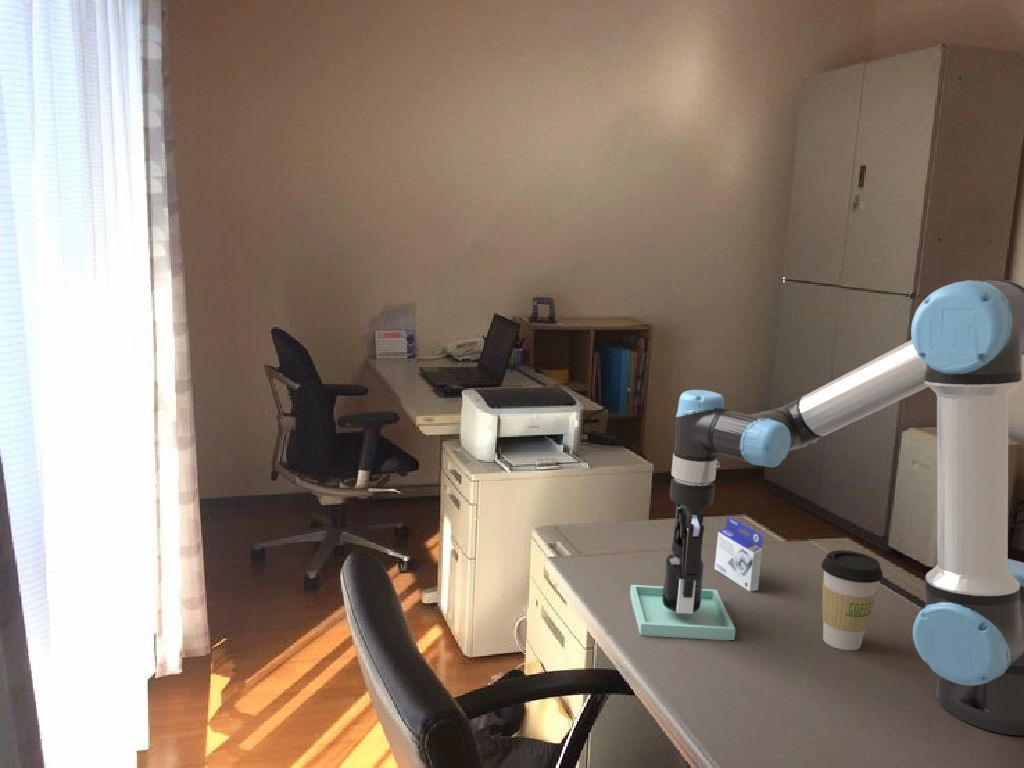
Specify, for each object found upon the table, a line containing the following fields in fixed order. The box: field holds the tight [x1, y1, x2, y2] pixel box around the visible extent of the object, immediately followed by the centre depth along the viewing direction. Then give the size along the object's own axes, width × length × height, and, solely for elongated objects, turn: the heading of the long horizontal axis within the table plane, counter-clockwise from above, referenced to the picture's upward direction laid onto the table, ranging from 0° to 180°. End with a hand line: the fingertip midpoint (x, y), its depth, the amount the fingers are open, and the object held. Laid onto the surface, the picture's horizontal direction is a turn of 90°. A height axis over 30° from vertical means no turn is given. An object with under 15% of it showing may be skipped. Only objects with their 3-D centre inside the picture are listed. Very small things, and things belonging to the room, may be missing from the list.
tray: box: [629, 584, 736, 641], centre depth 163 cm, size 16×16×2 cm
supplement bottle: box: [662, 538, 705, 612], centre depth 161 cm, size 7×7×12 cm
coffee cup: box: [820, 549, 884, 651], centre depth 155 cm, size 10×10×15 cm
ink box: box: [713, 515, 765, 593], centre depth 179 cm, size 12×2×12 cm, turn 25°
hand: (681, 602), depth 162 cm, fingers closed on supplement bottle, 7 cm apart
